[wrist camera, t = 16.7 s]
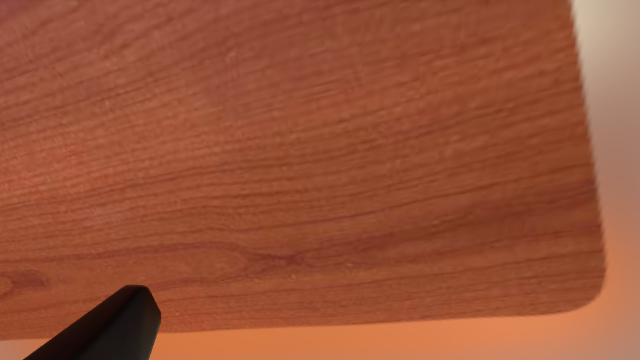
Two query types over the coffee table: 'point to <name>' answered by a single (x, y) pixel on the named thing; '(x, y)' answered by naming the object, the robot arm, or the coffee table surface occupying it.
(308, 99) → the coffee table surface
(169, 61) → the coffee table surface
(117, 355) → the robot arm
